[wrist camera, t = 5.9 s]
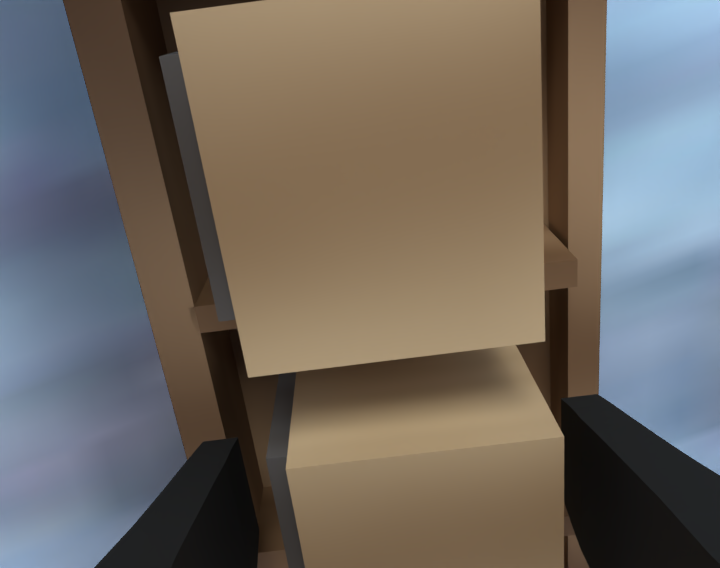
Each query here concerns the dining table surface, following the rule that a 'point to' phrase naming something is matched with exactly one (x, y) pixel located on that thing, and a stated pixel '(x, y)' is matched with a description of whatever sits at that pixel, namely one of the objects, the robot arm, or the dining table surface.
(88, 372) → the dining table surface
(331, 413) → the tan rectangular block
